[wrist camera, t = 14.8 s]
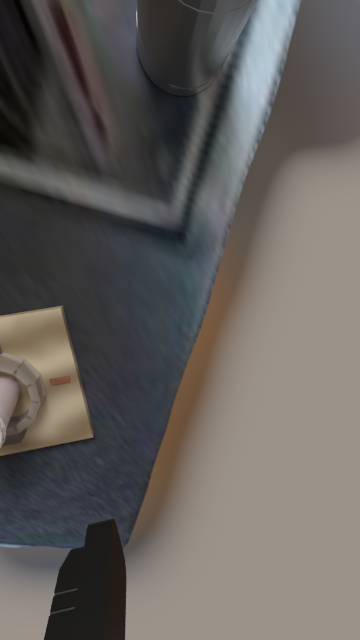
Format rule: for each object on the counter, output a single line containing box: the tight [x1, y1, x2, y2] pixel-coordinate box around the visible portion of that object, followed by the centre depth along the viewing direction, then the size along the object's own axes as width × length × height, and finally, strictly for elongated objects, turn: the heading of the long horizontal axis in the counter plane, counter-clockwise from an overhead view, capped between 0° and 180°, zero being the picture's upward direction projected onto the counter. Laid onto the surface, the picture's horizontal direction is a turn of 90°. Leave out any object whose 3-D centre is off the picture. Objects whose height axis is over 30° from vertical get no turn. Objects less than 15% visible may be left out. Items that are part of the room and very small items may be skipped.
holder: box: [0, 306, 94, 456], centre depth 39 cm, size 18×18×4 cm
